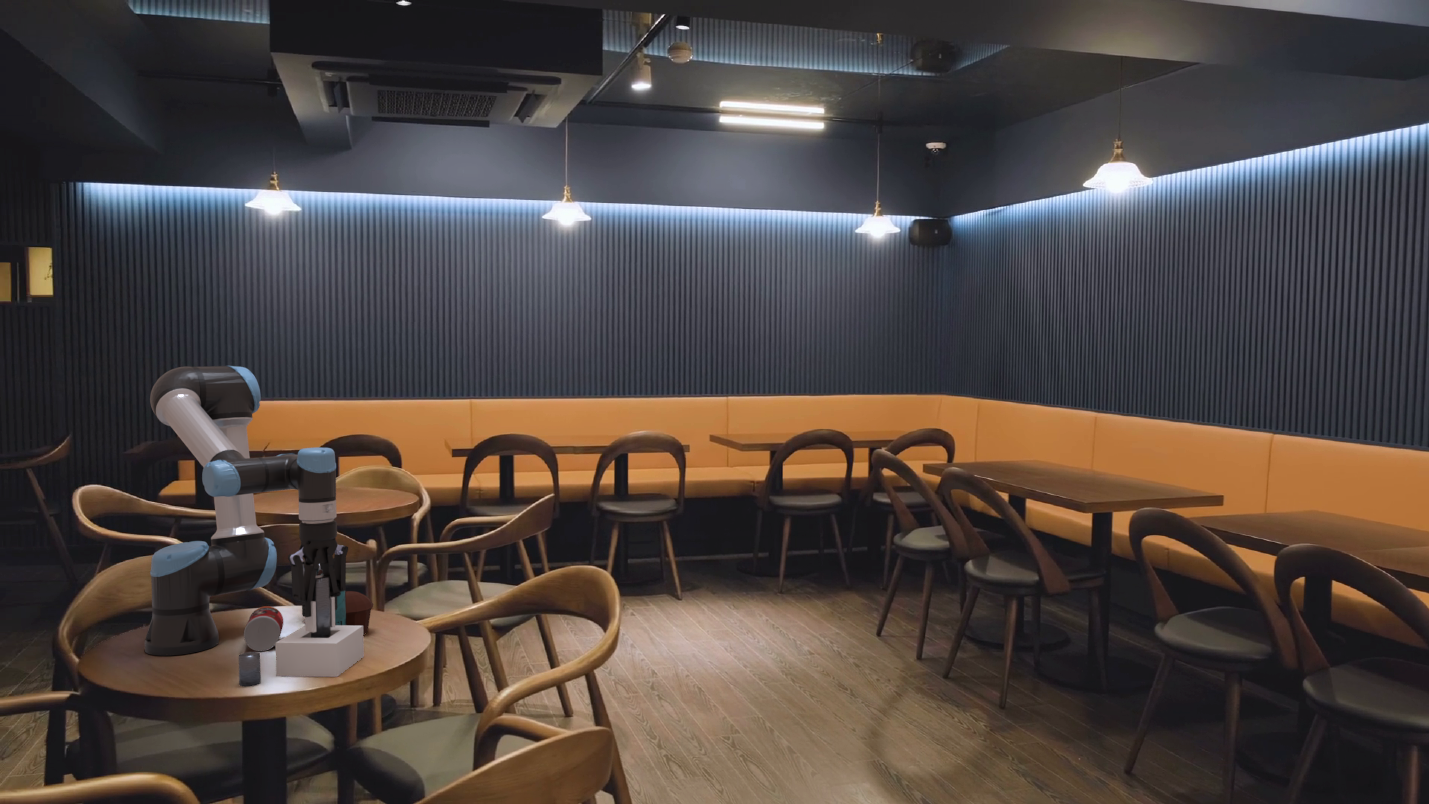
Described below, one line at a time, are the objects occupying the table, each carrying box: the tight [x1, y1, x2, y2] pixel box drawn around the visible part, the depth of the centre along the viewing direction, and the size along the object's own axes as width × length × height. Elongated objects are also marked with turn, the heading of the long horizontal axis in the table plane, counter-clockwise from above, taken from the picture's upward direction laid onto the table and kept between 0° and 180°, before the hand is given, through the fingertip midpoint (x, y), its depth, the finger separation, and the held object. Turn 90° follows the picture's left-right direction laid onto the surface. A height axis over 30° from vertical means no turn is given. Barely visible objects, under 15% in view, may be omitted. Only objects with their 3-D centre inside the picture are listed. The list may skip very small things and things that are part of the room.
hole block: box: [274, 625, 365, 678], centre depth 220 cm, size 13×14×7 cm
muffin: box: [345, 590, 374, 636], centre depth 246 cm, size 12×11×10 cm
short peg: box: [238, 651, 262, 688], centre depth 209 cm, size 4×4×6 cm
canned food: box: [243, 605, 284, 652], centre depth 237 cm, size 8×8×11 cm
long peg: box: [311, 575, 331, 638], centre depth 220 cm, size 4×4×14 cm
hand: (320, 628), depth 220 cm, fingers closed on long peg, 4 cm apart
